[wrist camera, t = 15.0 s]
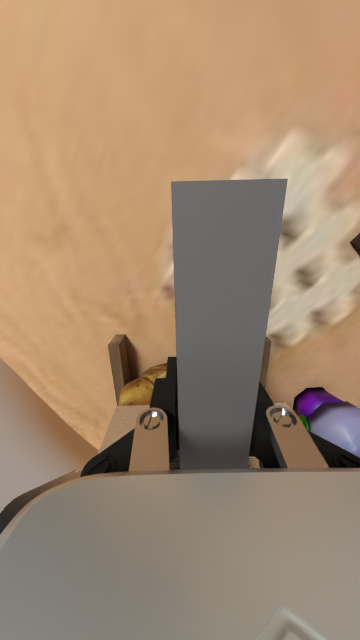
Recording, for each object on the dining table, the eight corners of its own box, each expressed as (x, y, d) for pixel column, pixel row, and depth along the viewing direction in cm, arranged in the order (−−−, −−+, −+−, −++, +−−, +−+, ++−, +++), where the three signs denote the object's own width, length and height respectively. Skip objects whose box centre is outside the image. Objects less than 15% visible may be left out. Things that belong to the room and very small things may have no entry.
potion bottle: (274, 391, 28) (341, 486, 16) (335, 368, 27) (451, 452, 15) (290, 432, 30) (358, 539, 19) (346, 412, 29) (454, 513, 18)
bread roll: (219, 345, 26) (237, 384, 18) (227, 404, 29) (245, 458, 21) (124, 362, 26) (103, 406, 19) (142, 418, 29) (129, 475, 22)
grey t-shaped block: (326, 210, 10) (463, 174, 5) (284, 413, 14) (336, 496, 9) (85, 216, 10) (-2, 186, 5) (118, 416, 14) (88, 499, 9)
